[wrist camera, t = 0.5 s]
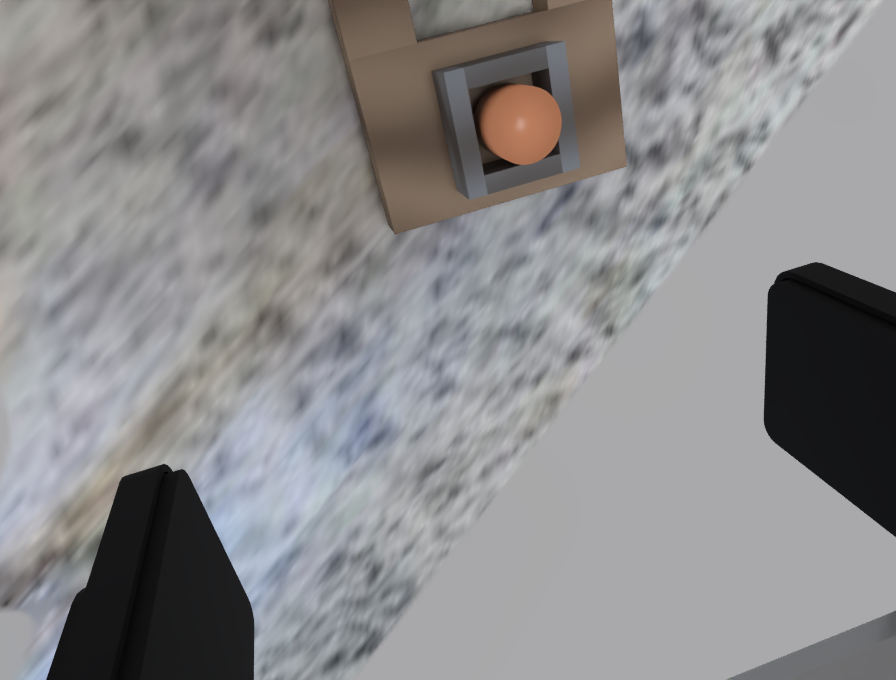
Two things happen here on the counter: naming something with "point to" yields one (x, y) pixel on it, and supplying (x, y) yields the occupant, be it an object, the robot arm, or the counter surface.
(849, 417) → the robot arm
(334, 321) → the counter surface
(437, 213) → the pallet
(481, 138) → the button
